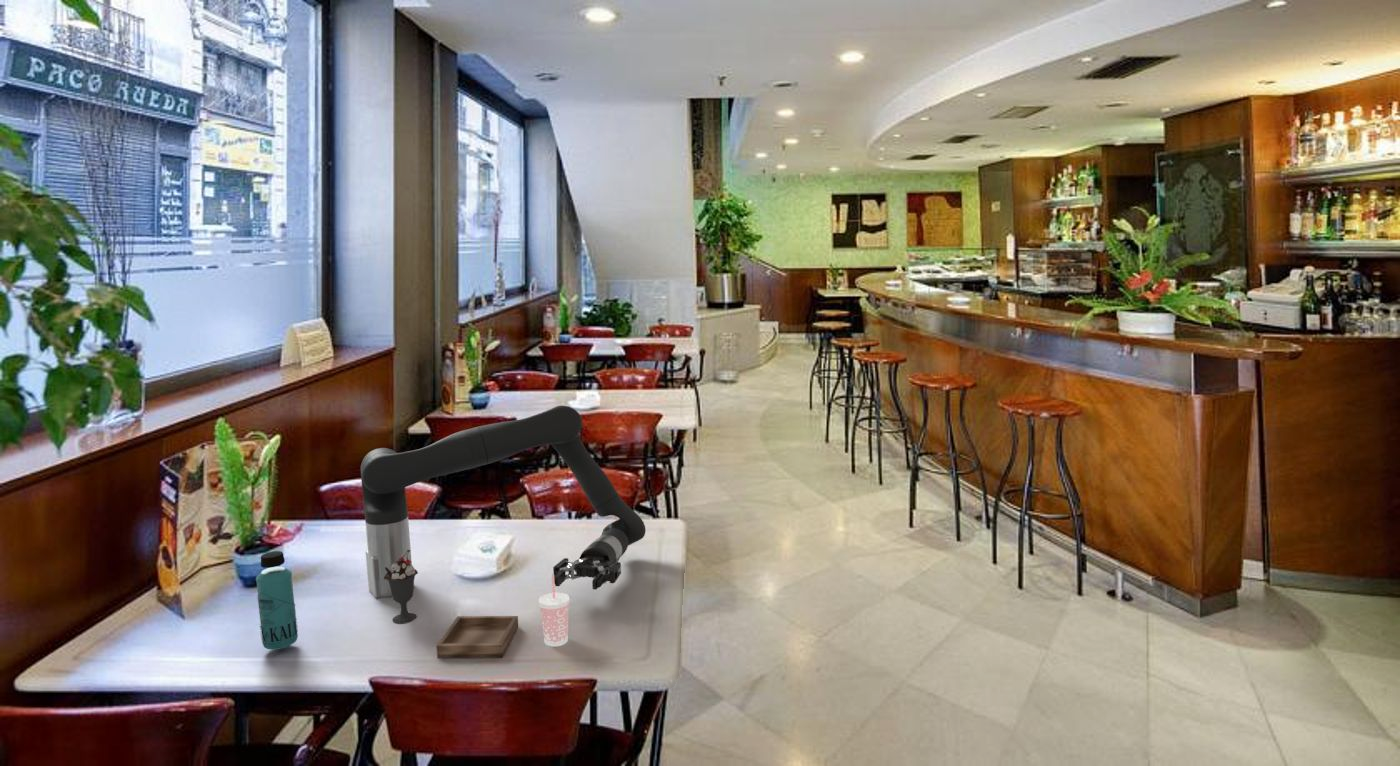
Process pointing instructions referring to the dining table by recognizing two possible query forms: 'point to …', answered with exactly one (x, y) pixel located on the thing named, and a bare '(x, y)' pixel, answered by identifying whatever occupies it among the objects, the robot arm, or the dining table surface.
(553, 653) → the dining table surface
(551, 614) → the beverage cup
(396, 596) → the sundae
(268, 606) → the beverage bottle
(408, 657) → the dining table surface
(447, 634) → the walnut tray
